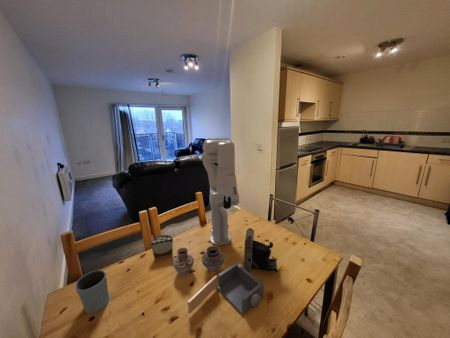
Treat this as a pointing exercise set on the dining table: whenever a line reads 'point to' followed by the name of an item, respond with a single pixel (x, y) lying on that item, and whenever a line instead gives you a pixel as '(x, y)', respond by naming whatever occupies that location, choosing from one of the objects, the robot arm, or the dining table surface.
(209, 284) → the door
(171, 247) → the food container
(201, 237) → the dining table surface
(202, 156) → the robot arm
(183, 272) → the pottery
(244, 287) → the grey open drawer box
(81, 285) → the grey green cup
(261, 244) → the vintage camera
